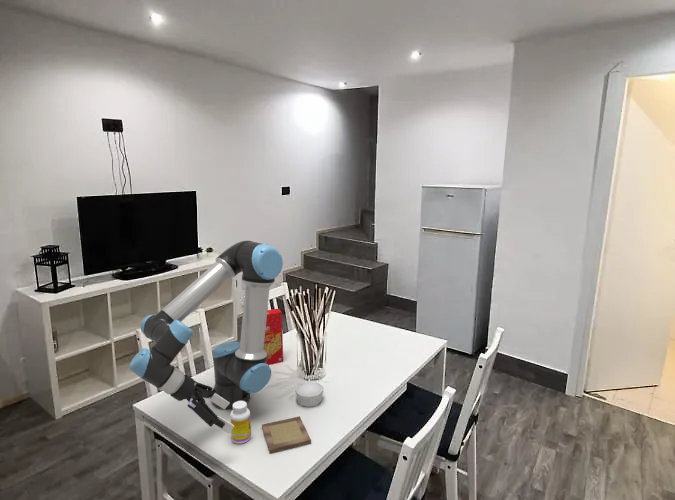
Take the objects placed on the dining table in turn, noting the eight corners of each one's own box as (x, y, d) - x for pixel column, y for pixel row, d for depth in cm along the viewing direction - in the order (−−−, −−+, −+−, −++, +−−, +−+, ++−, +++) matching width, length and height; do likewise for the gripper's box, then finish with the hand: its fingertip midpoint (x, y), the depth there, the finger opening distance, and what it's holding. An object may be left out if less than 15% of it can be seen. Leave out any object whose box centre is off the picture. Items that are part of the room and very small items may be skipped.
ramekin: (303, 390, 171) (302, 379, 170) (327, 396, 167) (327, 384, 166) (290, 405, 161) (290, 392, 160) (316, 411, 157) (316, 398, 156)
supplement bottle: (252, 442, 140) (250, 408, 137) (232, 446, 138) (230, 412, 135) (249, 430, 146) (248, 397, 143) (230, 434, 144) (228, 401, 141)
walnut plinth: (261, 428, 147) (261, 424, 147) (299, 419, 152) (299, 416, 152) (269, 453, 134) (269, 449, 134) (311, 443, 139) (310, 439, 139)
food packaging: (252, 368, 189) (250, 317, 184) (249, 364, 194) (247, 313, 188) (283, 361, 196) (281, 312, 191) (279, 357, 200) (277, 308, 195)
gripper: (170, 374, 141) (218, 405, 149) (167, 416, 118) (224, 449, 126) (185, 357, 141) (232, 389, 150) (186, 395, 119) (241, 430, 127)
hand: (229, 417), depth 138 cm, fingers open, 13 cm apart
